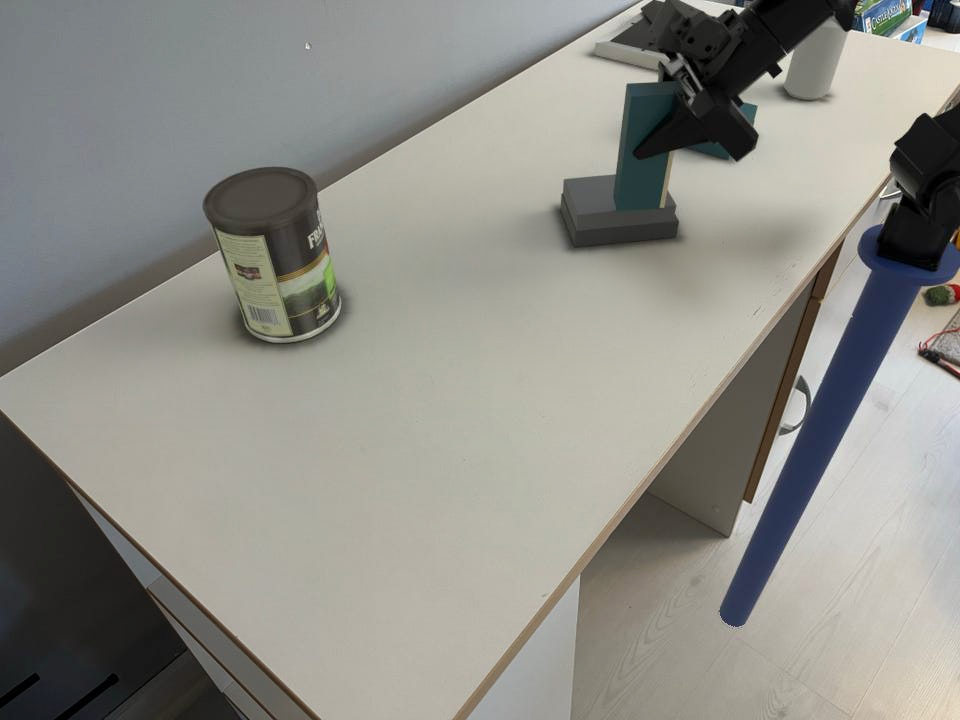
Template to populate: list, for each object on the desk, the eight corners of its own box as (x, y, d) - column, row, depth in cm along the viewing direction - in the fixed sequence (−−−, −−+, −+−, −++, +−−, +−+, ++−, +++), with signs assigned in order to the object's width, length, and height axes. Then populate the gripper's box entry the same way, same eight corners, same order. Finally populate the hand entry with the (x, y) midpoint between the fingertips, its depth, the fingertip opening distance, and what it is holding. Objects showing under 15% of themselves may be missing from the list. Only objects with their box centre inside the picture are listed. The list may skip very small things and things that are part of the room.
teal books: (751, 135, 99) (758, 104, 96) (728, 160, 94) (735, 129, 91) (670, 113, 104) (675, 83, 101) (645, 136, 99) (649, 106, 96)
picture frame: (651, 15, 131) (594, 55, 119) (653, -1, 129) (596, 37, 117) (734, 33, 124) (682, 76, 112) (737, 16, 122) (685, 58, 110)
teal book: (659, 194, 78) (679, 80, 69) (663, 209, 76) (685, 94, 67) (612, 196, 78) (626, 83, 69) (616, 211, 76) (631, 96, 67)
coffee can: (340, 274, 80) (316, 160, 70) (342, 336, 72) (315, 219, 62) (246, 285, 79) (208, 171, 69) (239, 349, 71) (195, 232, 61)
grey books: (656, 199, 88) (661, 167, 85) (676, 237, 83) (683, 204, 79) (560, 208, 87) (562, 177, 84) (574, 247, 82) (576, 214, 79)
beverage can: (775, 85, 109) (798, 2, 101) (816, 82, 110) (842, -2, 101) (793, 103, 105) (818, 18, 96) (835, 100, 105) (864, 15, 97)
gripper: (688, -66, 67) (566, 58, 75) (753, 4, 54) (596, 146, 62) (752, 16, 73) (632, 124, 81) (824, 98, 60) (672, 218, 67)
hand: (632, 149), depth 72 cm, fingers closed on teal book, 3 cm apart
